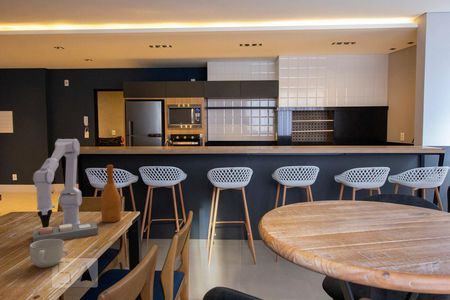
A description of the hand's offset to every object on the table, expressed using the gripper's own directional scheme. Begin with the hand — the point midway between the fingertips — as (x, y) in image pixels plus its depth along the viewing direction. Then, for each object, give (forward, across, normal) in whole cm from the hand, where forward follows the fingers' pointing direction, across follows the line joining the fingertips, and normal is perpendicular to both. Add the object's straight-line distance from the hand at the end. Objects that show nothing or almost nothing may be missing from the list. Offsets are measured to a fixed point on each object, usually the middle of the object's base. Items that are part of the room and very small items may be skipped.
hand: (45, 227), depth 143 cm
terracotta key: (+3, 0, 0) cm, 3 cm away
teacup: (+6, -33, 0) cm, 33 cm away
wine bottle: (+6, +15, -30) cm, 34 cm away
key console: (+5, 0, -8) cm, 10 cm away
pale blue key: (+4, +1, -16) cm, 17 cm away
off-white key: (+3, 0, -8) cm, 8 cm away
